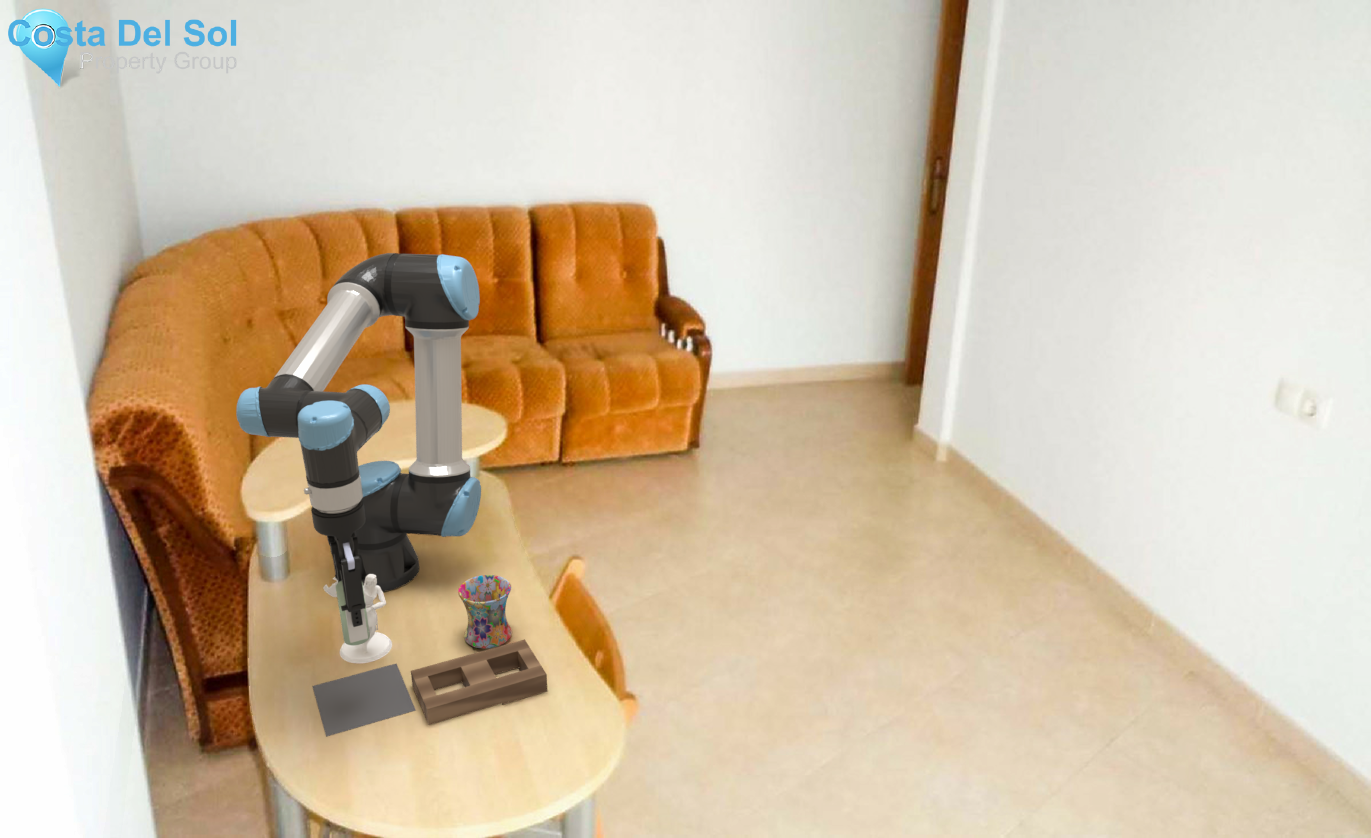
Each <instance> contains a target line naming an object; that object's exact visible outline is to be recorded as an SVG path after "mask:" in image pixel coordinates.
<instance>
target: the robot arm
mask: <svg viewBox="0 0 1371 838" xmlns="http://www.w3.org/2000/svg"><path fill="white" fill-rule="evenodd" d="M326 299H327V301H326V302H327V304H326V306H325V307H324V308H323V310H322V311H321V312H320V313H319V315H318V317H317V318H316V319H315V321H314V322H313V323H312V325H311V326H310V328H309V329H308V330H307V332H306V333H305V334H304V336H303V337H302V339H301V340H300V341H299V342H298V344H297V345H296V346H295V348H294V350H293V351H292V352H291V354H290V355H289V356H288V358H287V359H286V361H285V362H284V363H283V365H282V366H281V368H280V369H279V370H278V372H277V373H276V374H275V375H274V377H273V379H272V380H271V381H270V382H269V383H268V384H267V386H266V387H262V386H257V387H249V388H247V389H244V390H243V391H242V392H241V393H240V395H239V398H238V399H237V403H236V410H235V411H236V414H235V415H236V420H237V422H238V423H239V427H240V429H241V430H242V431H243V432H245V433H246V434H249V435H254V436H262V437H266V438H271V437H272V438H290V439H292V438H294V439H298V441H299V443H300V448H301V454H302V460H303V465H304V470H305V478H306V482H307V486H308V487H305V488H303V494H305V495H309V502H310V505H311V508H310V509H311V510H310V511H311V518H312V523H313V529H314V531H316V532H317V533H318V534H319V535H322V536H326V539H327V543H328V545H329V549H330V554H331V557H332V561H333V567H334V572H335V574H334V577H335V578H336V579H337V580H338V583H339V582H340V581H342V585H343V591H344V597H345V603H346V605H343V606H341V609H342V611H345V613H346V619H347V626H348V632H349V639H350V643H352V642H356V641H360V640H364V639H367V638H368V634H367V627H366V619H365V612H364V609H365V608H366V607H365V606H366V604H365V601H364V594H363V587H362V583H363V585H364V583H365V578H366V576H367V575H368V574H374V575H376V578H377V584H376V585H378V586H380V588H381V590H382V591H383V593H384V592H388V591H392V590H395V589H398V588H401V587H404V586H405V585H407V584H409V583H410V582H412V581H413V580H415V578H416V577H417V576H418V574H419V572H420V561H419V556H418V554H417V552H416V549H415V548H414V546H413V544H412V542H411V540H410V538H409V536H408V534H411V535H412V534H413V535H422V536H423V535H426V536H437V537H443V538H446V537H463V536H464V535H465V536H466V535H467V533H469V531H471V530H472V529H471V528H472V527H473V525H474V523H475V521H476V518H477V516H478V513H479V508H480V503H481V496H482V486H481V482H480V480H479V479H478V478H477V477H475V476H471V465H470V464H468V463H467V462H466V461H465V460H464V458H463V422H462V420H463V416H462V414H463V413H462V408H463V407H462V405H463V404H462V339H461V338H462V336H463V334H465V332H466V331H468V329H469V327H470V325H469V324H470V323H469V322H470V321H471V320H475V318H476V317H477V316H478V313H479V309H480V308H479V306H480V302H481V301H480V300H481V299H480V286H479V282H478V278H477V275H476V272H475V270H474V268H473V266H472V264H471V262H469V261H468V260H467V258H464V257H461V256H455V255H450V254H449V255H448V254H443V253H442V254H426V253H424V254H421V253H420V254H419V253H417V254H416V253H397V252H386V253H382V254H377V255H374V256H371V257H370V258H367V259H365V260H363V261H361V262H360V263H358V264H356V265H355V266H353V267H352V268H350V269H349V270H347V271H346V272H345V273H344V274H342V276H341V277H339V279H337V281H336V282H335V283H334V284H333V286H332V287H331V288H330V290H329V291H328V294H327V298H326ZM386 316H395V317H404V319H405V320H404V321H405V322H404V323H405V329H406V330H407V331H408V332H409V333H410V334H411V335H412V336H413V351H414V353H413V354H414V355H413V356H414V357H413V358H414V395H415V397H414V398H415V399H414V401H415V403H414V404H415V441H416V442H415V447H416V448H415V449H416V452H415V453H416V459H415V461H414V462H413V463H412V464H410V466H409V467H408V473H405V472H404V473H403V472H402V469H401V467H400V465H399V464H398V463H397V462H395V461H392V460H375V461H369V462H368V463H367V462H366V463H363V464H360V465H359V461H358V452H359V451H360V450H361V448H362V447H363V446H364V445H366V443H368V441H369V440H370V439H371V438H372V437H374V435H376V434H377V433H379V432H380V430H381V429H382V427H383V425H384V424H385V423H386V421H387V420H388V418H389V416H390V412H391V406H390V402H389V399H388V398H387V396H386V394H385V393H384V392H383V391H382V390H381V389H380V388H378V387H376V386H375V385H372V384H366V383H365V384H359V385H357V386H353V387H352V388H349V390H347V391H346V392H340V391H339V392H337V391H325V389H326V388H327V386H328V385H329V383H330V382H331V380H332V379H333V377H334V376H335V375H336V373H337V371H338V370H339V368H340V366H341V365H342V364H343V362H344V360H345V359H346V357H347V356H348V355H349V353H350V351H351V350H352V348H353V346H355V344H356V342H357V341H358V339H359V338H360V336H361V335H362V334H363V332H364V330H365V329H367V328H369V327H372V326H373V325H374V324H375V323H377V321H378V319H379V318H381V317H386ZM401 472H402V473H401ZM366 585H367V584H366Z"/></svg>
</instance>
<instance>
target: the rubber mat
mask: <svg viewBox="0 0 1371 838" xmlns="http://www.w3.org/2000/svg"><path fill="white" fill-rule="evenodd" d="M312 689H313V693H314V698H315V700H316V705H317V708H318V712H319V715H320V718H321V722H322V726H323V731H324V733H325V734H324V735H325V736H326V737H330V736H333V735H336V734H341V733H344V732H347V731H351V730H354V729H358V728H360V727H364V726H365V727H366V726H367V725H368V726H369V725H371V724H375V723H377V722H381V721H385V720H389V719H391V718H394V717H398V716H399V717H400V716H402V715H406V714H409V713H412V712H415V711H417V709H416V707H415V705H414V703H413V700H412V698H411V695H410V693H409V690H408V688H407V684H406V683H405V681H404V678H403V676H402V673H401V671H400V669H399V667H398V664H397V662H396V663H393V664H388V665H386V666H380V667H377V668H374V669H371V670H366V671H362V672H359V673H356V674H355V673H354V674H352V675H348V676H345V677H339V678H338V679H334V680H330V681H326V682H322V683H319V684H315V685H312Z"/></svg>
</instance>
